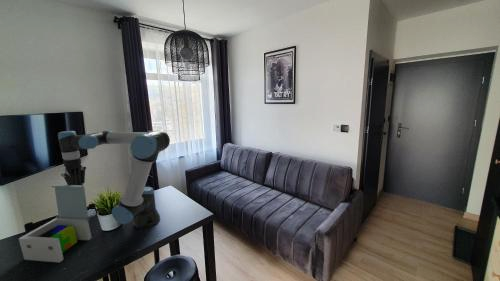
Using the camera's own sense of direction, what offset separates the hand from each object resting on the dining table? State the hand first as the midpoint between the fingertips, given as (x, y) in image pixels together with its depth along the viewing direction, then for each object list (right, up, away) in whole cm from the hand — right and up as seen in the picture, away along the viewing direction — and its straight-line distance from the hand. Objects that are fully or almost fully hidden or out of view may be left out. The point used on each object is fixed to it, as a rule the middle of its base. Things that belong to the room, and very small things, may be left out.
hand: (79, 196), depth 119 cm
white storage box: (-1, -25, -10) cm, 27 cm away
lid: (-1, -2, -7) cm, 7 cm away
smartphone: (-13, -19, +26) cm, 35 cm away
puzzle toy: (-2, -25, -9) cm, 27 cm away
